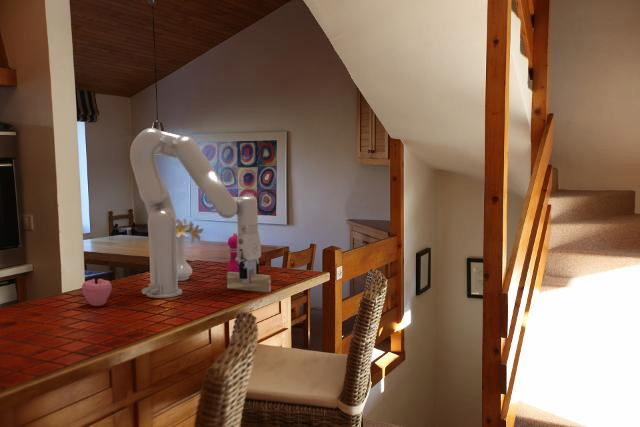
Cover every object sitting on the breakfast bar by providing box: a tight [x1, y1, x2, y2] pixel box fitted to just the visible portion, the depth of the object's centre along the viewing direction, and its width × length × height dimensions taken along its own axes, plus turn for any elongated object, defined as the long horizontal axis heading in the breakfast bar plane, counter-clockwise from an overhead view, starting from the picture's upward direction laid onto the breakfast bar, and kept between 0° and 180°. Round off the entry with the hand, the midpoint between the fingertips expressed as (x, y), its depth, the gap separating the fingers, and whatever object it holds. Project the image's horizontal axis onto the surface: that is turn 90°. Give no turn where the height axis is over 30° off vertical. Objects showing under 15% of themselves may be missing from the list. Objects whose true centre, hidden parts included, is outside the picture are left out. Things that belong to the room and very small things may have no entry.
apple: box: [81, 277, 113, 307], centre depth 198 cm, size 10×9×10 cm
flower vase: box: [176, 218, 204, 282], centre depth 239 cm, size 13×18×25 cm
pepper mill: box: [226, 231, 239, 273], centre depth 235 cm, size 7×7×20 cm
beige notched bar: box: [226, 271, 272, 294], centre depth 220 cm, size 2×18×6 cm, turn 64°
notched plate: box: [242, 259, 257, 283], centre depth 219 cm, size 2×7×8 cm, turn 154°
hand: (249, 276), depth 220 cm, fingers closed on notched plate, 7 cm apart
